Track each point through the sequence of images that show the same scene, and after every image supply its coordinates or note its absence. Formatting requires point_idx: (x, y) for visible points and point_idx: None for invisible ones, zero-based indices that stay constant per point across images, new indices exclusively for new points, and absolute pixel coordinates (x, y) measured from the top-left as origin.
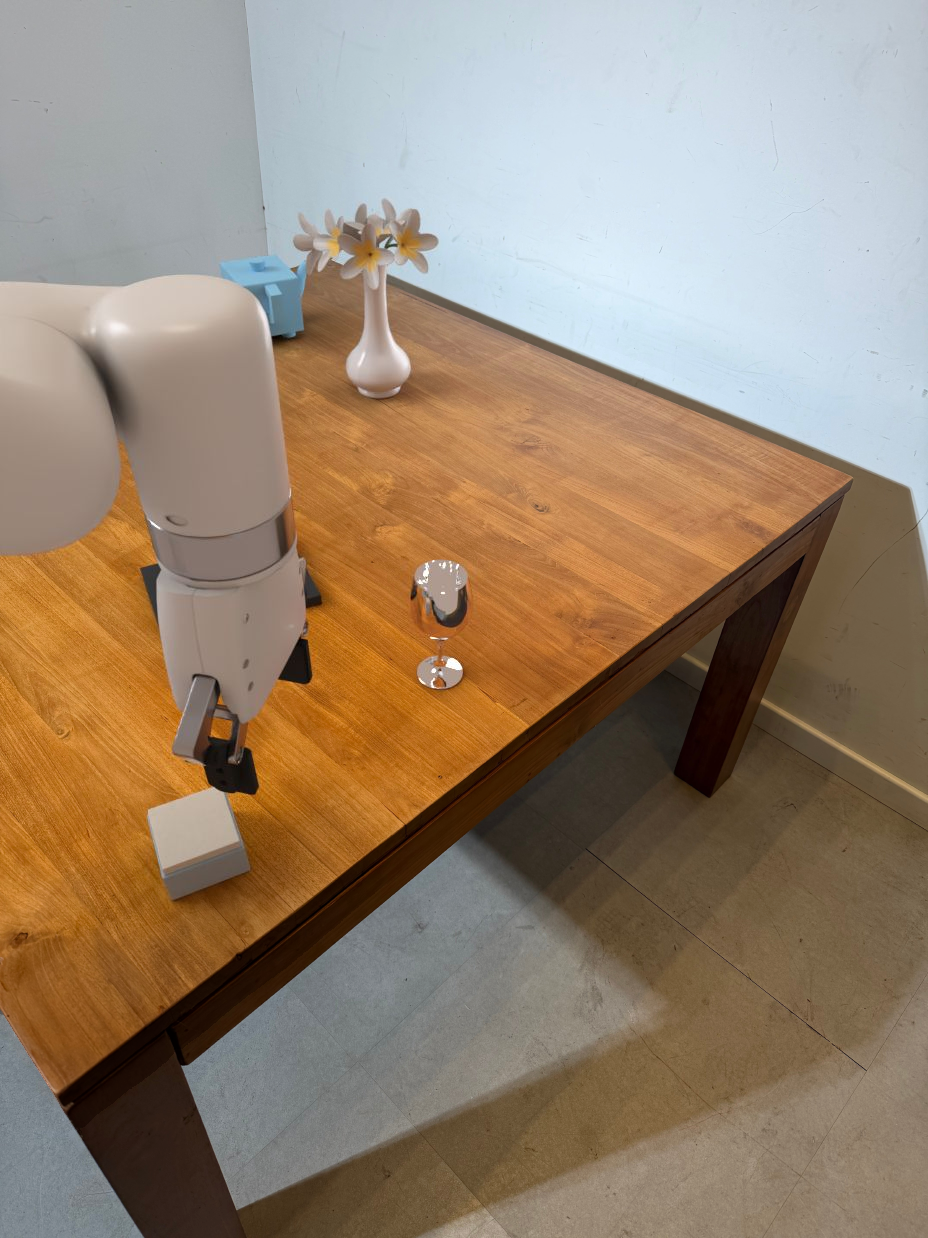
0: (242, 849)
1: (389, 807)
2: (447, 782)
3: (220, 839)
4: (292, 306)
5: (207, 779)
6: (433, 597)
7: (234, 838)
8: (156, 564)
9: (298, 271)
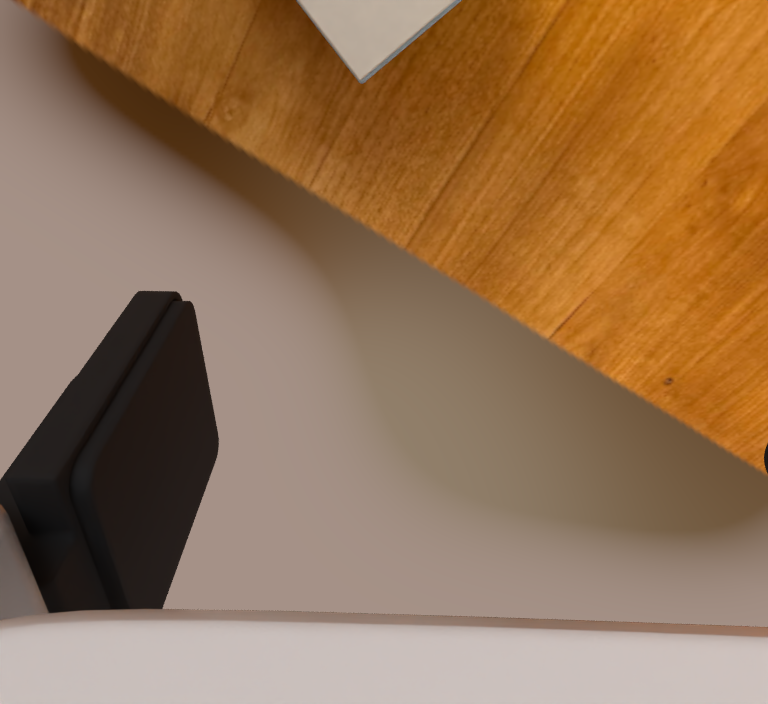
0: (357, 79)
1: (582, 308)
2: (654, 395)
3: (350, 21)
4: None
5: (129, 306)
6: None
7: (364, 62)
8: None
9: None
